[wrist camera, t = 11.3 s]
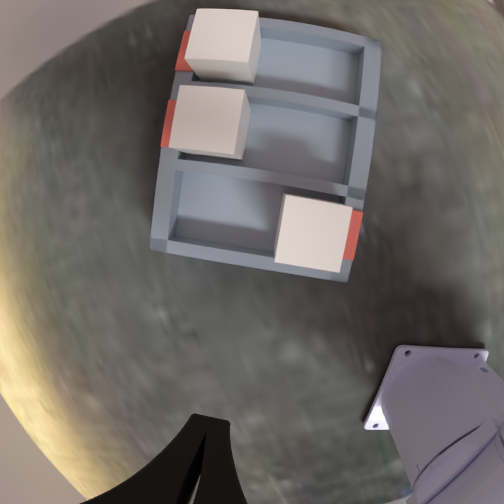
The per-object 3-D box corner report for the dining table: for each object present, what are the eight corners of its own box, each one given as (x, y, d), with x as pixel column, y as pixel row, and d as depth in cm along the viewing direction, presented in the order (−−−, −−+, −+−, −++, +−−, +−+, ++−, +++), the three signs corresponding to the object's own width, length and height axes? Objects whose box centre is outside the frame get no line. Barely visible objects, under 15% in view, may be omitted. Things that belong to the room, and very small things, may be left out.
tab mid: (251, 109, 16) (244, 89, 12) (242, 160, 17) (234, 154, 13) (199, 104, 16) (179, 85, 13) (190, 154, 17) (168, 147, 13)
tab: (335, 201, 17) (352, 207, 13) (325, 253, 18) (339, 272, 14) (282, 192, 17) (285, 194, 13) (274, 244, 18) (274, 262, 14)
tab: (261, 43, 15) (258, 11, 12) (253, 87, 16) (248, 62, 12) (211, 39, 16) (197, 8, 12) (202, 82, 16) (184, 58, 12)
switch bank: (370, 56, 16) (382, 40, 13) (338, 270, 19) (348, 283, 16) (199, 31, 16) (189, 13, 14) (164, 241, 19) (148, 250, 17)
